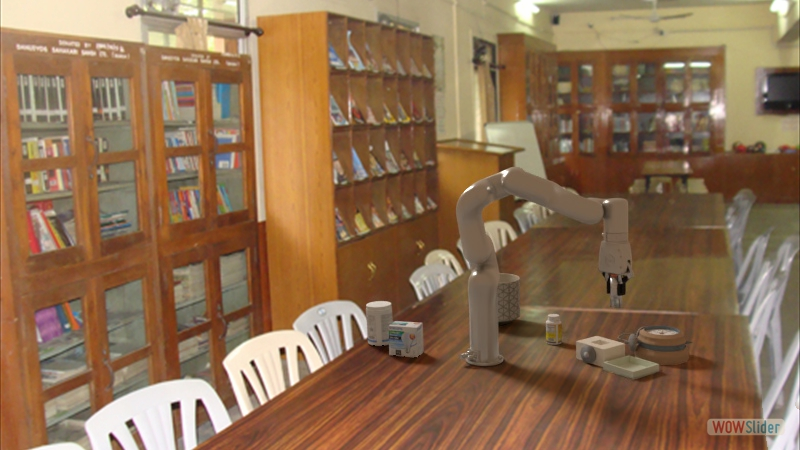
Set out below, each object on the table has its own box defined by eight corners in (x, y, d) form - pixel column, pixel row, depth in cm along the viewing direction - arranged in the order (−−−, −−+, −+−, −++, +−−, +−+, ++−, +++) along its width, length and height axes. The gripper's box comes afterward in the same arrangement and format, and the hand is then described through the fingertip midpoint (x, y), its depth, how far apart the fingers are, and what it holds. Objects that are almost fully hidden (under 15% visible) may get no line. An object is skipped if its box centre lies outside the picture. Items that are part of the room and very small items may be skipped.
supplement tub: (393, 338, 290) (392, 300, 288) (394, 346, 281) (392, 306, 279) (367, 339, 290) (365, 301, 288) (367, 347, 281) (365, 307, 279)
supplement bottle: (559, 340, 281) (559, 312, 280) (563, 344, 276) (563, 316, 274) (544, 341, 281) (543, 313, 279) (548, 345, 275) (548, 317, 274)
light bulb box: (388, 355, 270) (387, 325, 269) (395, 350, 276) (394, 320, 275) (417, 358, 266) (417, 327, 265) (424, 352, 273) (423, 322, 271)
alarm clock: (680, 340, 246) (609, 330, 260) (680, 368, 247) (609, 357, 261) (696, 327, 260) (628, 318, 273) (695, 354, 261) (627, 344, 274)
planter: (497, 332, 294) (497, 285, 292) (461, 323, 309) (460, 278, 306) (530, 322, 307) (529, 277, 304) (494, 314, 321) (493, 271, 318)
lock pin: (616, 308, 247) (616, 274, 245) (607, 306, 250) (607, 272, 248) (624, 306, 249) (624, 272, 247) (615, 304, 252) (615, 271, 250)
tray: (633, 379, 238) (633, 372, 238) (603, 370, 248) (603, 362, 247) (658, 371, 244) (659, 364, 244) (628, 362, 254) (628, 355, 254)
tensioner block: (599, 368, 249) (600, 350, 248) (572, 359, 259) (572, 342, 258) (624, 361, 256) (625, 343, 255) (597, 352, 266) (597, 335, 265)
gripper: (587, 236, 251) (588, 292, 253) (629, 241, 237) (629, 300, 240) (603, 233, 255) (603, 288, 258) (645, 238, 242) (645, 296, 244)
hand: (616, 293), depth 249 cm, fingers closed on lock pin, 3 cm apart
